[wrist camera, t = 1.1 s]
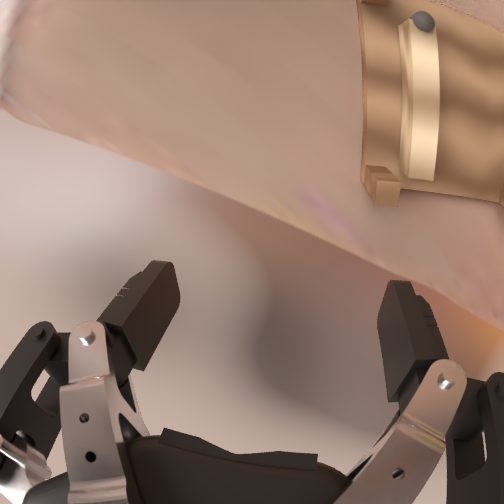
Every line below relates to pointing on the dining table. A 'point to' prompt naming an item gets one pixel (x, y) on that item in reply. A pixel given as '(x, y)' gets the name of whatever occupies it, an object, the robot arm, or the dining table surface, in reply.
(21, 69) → the dining table surface
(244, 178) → the dining table surface
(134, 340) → the robot arm
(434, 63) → the tan curved wooden piece
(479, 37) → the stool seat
